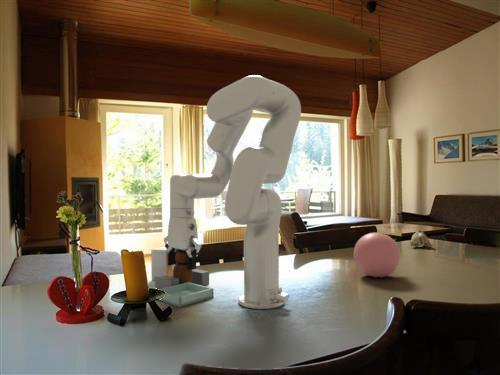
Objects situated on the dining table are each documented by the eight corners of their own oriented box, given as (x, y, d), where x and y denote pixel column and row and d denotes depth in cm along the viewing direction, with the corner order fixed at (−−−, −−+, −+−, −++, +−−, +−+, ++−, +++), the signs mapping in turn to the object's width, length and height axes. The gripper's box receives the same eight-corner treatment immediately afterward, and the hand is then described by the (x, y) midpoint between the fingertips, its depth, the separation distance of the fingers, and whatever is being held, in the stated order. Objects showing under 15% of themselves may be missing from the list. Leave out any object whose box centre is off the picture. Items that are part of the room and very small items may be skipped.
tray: (213, 297, 115) (213, 288, 115) (180, 307, 105) (179, 297, 105) (188, 290, 122) (188, 282, 122) (154, 299, 113) (154, 290, 113)
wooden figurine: (171, 284, 129) (171, 238, 129) (189, 283, 131) (189, 237, 131) (175, 290, 122) (175, 241, 122) (194, 288, 124) (193, 240, 124)
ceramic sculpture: (429, 228, 207) (434, 233, 193) (429, 244, 208) (434, 251, 193) (407, 228, 210) (410, 233, 196) (407, 244, 211) (410, 250, 196)
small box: (166, 281, 134) (166, 250, 133) (151, 280, 135) (150, 249, 135) (175, 275, 141) (175, 246, 141) (161, 275, 143) (160, 245, 142)
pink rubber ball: (415, 275, 140) (415, 231, 140) (384, 284, 127) (384, 236, 127) (376, 268, 152) (376, 228, 152) (344, 276, 139) (344, 232, 139)
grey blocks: (209, 283, 130) (209, 271, 130) (171, 293, 118) (171, 280, 118) (193, 280, 135) (192, 268, 135) (155, 289, 123) (154, 276, 123)
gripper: (209, 214, 124) (209, 269, 124) (174, 211, 135) (174, 261, 135) (190, 216, 118) (190, 273, 118) (155, 212, 129) (155, 264, 130)
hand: (181, 267), depth 127 cm, fingers open, 9 cm apart
